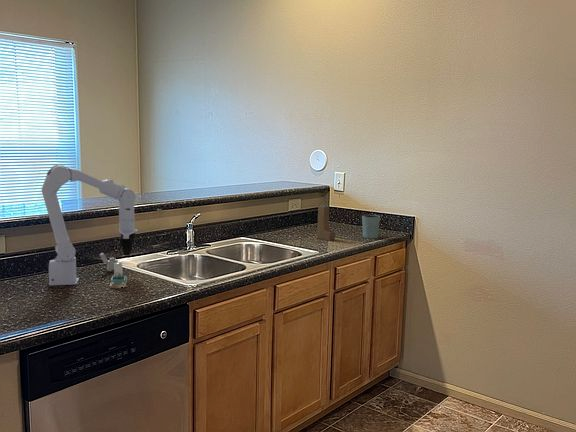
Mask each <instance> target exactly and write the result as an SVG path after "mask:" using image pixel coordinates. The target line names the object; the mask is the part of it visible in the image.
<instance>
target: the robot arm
mask: <svg viewBox="0 0 576 432" xmlns="http://www.w3.org/2000/svg"><path fill="white" fill-rule="evenodd" d="M69 181H70V182H78V181H79V182H82V183H85V184H87V185H89V186H92V187H94V188H97V189H98V191H99V193H100V194H101V195H104V196H107V197H109V198H112V199H114V200H118V206H119V207H118V224H119V226H118V227H119V230H118V233H120V236H121V237H118V240H119V241H118V242H119V243H120V245H121V248H122V253H123V256H124V257H125V256H131V251H132V246H133V242H134V240H135V235H136V233H138V231H139V230H138V229H135V227H136V226H135V201H136V199H137V196H136V194H135V192H134V191H133V190H132V189H130V188H128V187H126V186H125V185H124V184H122V185H120V184H119V183H116V182H114V180H113V179H111V178H109V179H103V180H100V179H98V178H96V177H95V176H93V175H90V174H88V173H85V172H83V171H81V170H79V169H77V168H73V167H69V166H65V165H63V164H54V165H53V166H51V168H50V169H49V170H48V171H47V173H46V176H45V179H44V182H43V184H42V186H41V193H42V197H43V202H44V204H45V207H46V211H47V215H48V218H49V221H50V226H51V228H52V232H53V235H54V241H55V247H54V249H55V253H56V254H57V255H56V256H55V258H54V259H51V260H49V263H48V281H49V282H48V286H67V285H68V286H74V285H75V286H76V285H77V284H78V282H79V280H80V278H79V277H77V258H76V253H77V252H76V251H77V250H76V248H75V247H74V245H73V243H72V241H70V240H71V239H70V237H69V234H68V230H67V227H66V224H65V220H64V216H63V212H62V208H61V205H60V203H59V202H60V201H59V197H58V195H57V193H58V192H59V190H60V189H61V188H62V186H64V185H65V184H67V183H68V182H69Z"/></svg>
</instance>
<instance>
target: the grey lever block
mask: <svg viewBox="0 0 576 432" xmlns="http://www.w3.org/2000/svg"><path fill="white" fill-rule="evenodd" d="M99 256H100V258H101V260H102V262H103V263H104V264H106V271H107V270H108V271H110V272H112V271H111V270H114V263H117V262H118V261H119V260H118V259H116V258H115V257H109V259H108V258H107V256H106V255H105V253H104V252H101V253H99ZM108 271H107V272H108Z"/></svg>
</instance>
